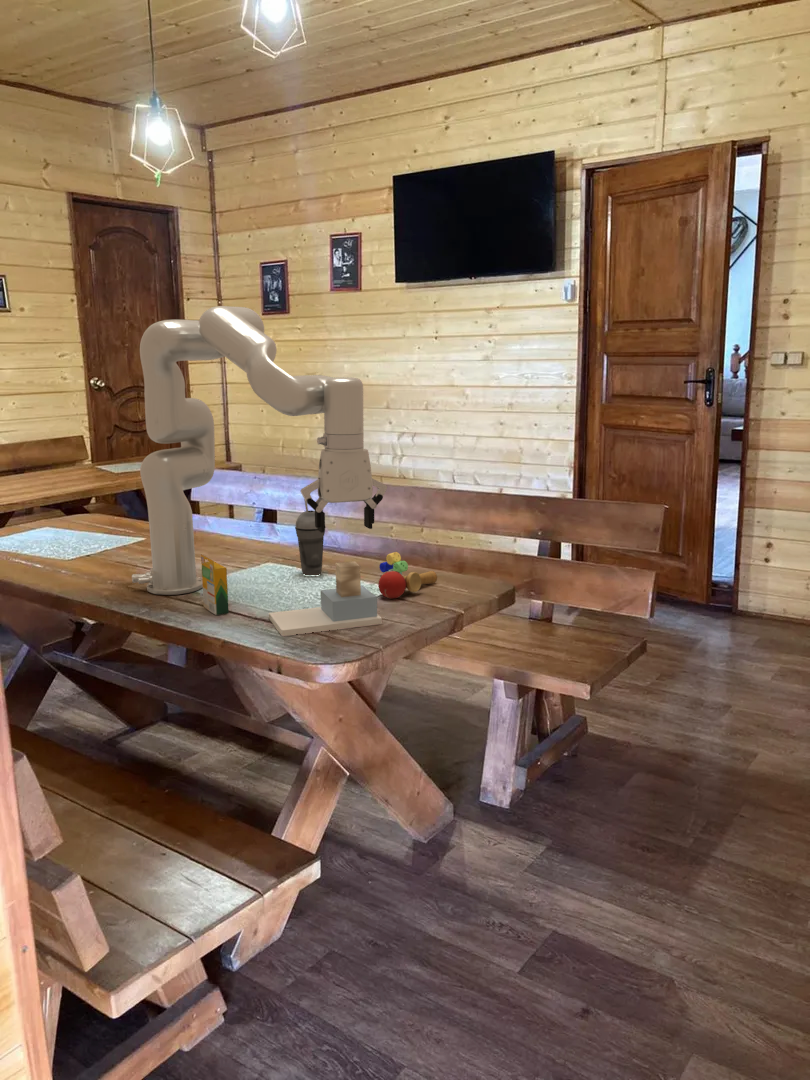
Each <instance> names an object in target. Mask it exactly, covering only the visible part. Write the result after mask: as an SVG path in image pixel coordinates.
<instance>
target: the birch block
mask: <svg viewBox="0 0 810 1080" xmlns="http://www.w3.org/2000/svg"><path fill="white" fill-rule="evenodd" d="M361 584H362V583H361V565H360V564H359V563H358V562H356V561H355V560H354V561H353V560H351V561H343V562H335V585H336V586H335V589H336V592H337V593H338V594H339V595H340V596H341V597H347V596H357V595H361V586H362V585H361Z"/></svg>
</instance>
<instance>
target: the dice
mask: <svg viewBox="0 0 810 1080" xmlns="http://www.w3.org/2000/svg"><path fill="white" fill-rule="evenodd" d="M385 559H386V561H385V562H380V564H379V571H380V572H381V573H386V572H389V571H398V572H399V573H400V574H401V575H402V576H403V573H404V572H407V571H408V569H409V564H408V562H407V561H405V560H402V556H401V554H400V553H399V552H397V551H395V552H390V553H388V554H387V555H386V558H385Z"/></svg>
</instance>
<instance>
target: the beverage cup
mask: <svg viewBox="0 0 810 1080" xmlns="http://www.w3.org/2000/svg"><path fill="white" fill-rule="evenodd" d="M303 499H304V498H303ZM304 505H305V506H304V507H305V511H303V512H302V513H301V514H299V515H298V517H297V519H296V521H295V527H294V529H295V534H296V537H297V542H298V543H297V544H298V549H299V550H298V551H299V558H300V559H299V560H300V566H301V571H302V575H303V574H305V575H319V574H321V575H322V571H323V570H322V568H323V558H324V557H323V556H324V541H325V540H324V539H325V534H326V533H325V532H326V531H325V532H322V533H321V532H320V531H319V530H318V528H316V527H315V510H309V508H308V504H307V503H306V501H305V499H304ZM326 528H327V527H326V526H325V529H326Z"/></svg>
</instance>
